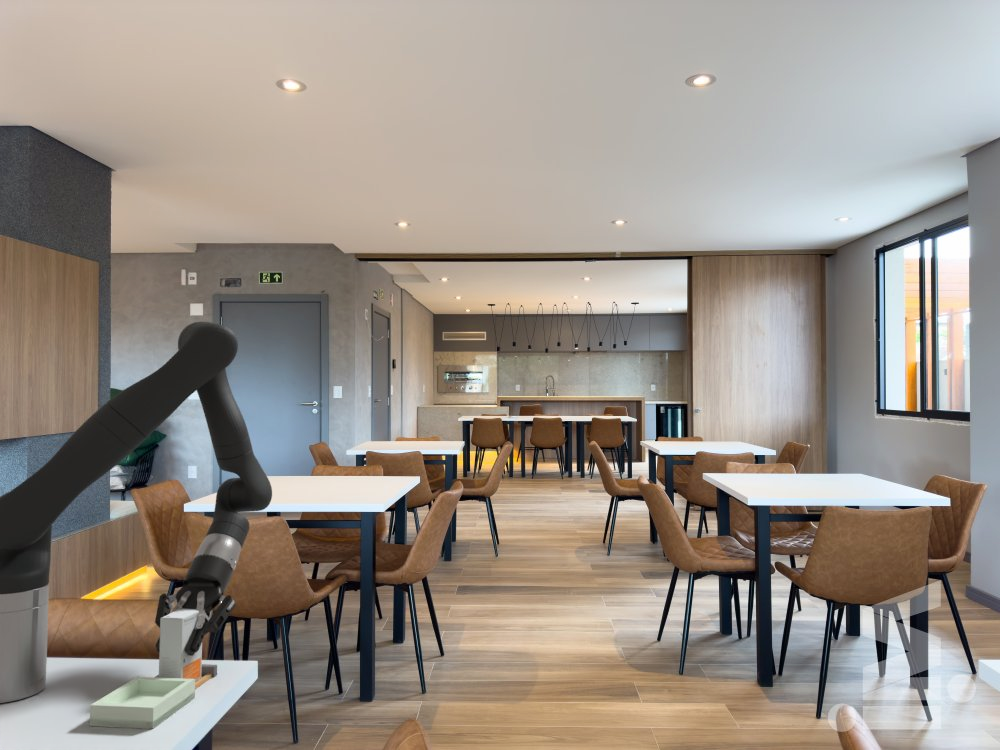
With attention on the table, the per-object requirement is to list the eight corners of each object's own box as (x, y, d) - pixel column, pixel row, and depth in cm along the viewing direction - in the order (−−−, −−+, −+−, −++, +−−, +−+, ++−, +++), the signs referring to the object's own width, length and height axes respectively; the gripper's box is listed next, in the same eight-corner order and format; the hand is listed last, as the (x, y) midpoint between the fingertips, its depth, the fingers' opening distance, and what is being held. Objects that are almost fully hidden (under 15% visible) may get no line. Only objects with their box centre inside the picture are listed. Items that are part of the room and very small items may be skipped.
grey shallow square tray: (141, 694, 112) (141, 683, 112) (174, 673, 121) (174, 663, 121) (187, 696, 111) (187, 685, 111) (216, 675, 120) (217, 664, 120)
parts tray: (89, 725, 101) (90, 705, 101) (137, 695, 112) (137, 676, 112) (153, 728, 100) (153, 707, 100) (194, 697, 111) (195, 678, 111)
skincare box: (180, 692, 113) (181, 618, 114) (157, 690, 114) (158, 617, 114) (203, 678, 119) (203, 608, 120) (181, 676, 120) (181, 607, 120)
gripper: (169, 552, 126) (125, 640, 113) (243, 553, 124) (206, 643, 111) (185, 574, 131) (144, 662, 118) (256, 576, 129) (222, 664, 116)
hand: (175, 652), depth 115 cm, fingers closed on skincare box, 4 cm apart
